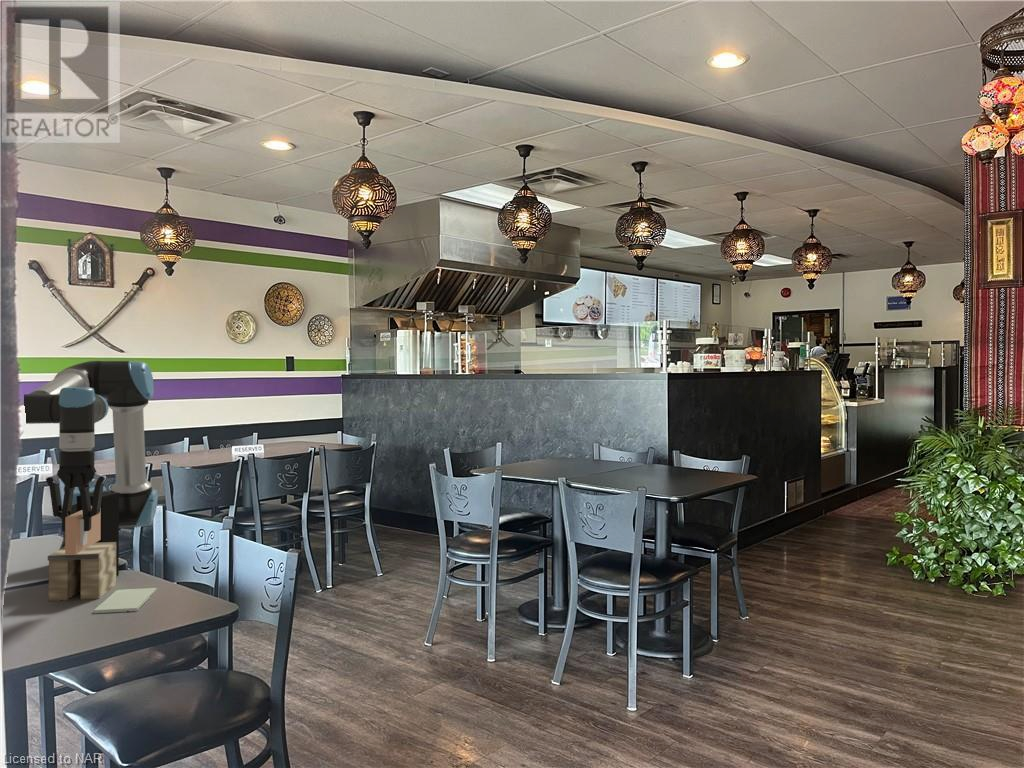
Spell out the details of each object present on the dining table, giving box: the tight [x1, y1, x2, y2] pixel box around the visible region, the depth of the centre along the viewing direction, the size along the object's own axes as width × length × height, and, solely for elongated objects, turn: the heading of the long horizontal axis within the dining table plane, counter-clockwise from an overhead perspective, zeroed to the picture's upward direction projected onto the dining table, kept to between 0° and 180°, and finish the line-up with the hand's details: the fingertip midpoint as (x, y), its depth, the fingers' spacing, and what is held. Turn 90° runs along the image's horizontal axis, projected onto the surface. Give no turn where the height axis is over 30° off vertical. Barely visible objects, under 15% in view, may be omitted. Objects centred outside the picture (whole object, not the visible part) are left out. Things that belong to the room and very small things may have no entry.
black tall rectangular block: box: [77, 482, 120, 577], centre depth 212 cm, size 8×8×28 cm
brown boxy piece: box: [47, 542, 117, 602], centre depth 198 cm, size 15×12×12 cm
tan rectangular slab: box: [65, 506, 101, 555], centre depth 185 cm, size 16×2×9 cm, turn 11°
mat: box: [93, 587, 158, 614], centre depth 191 cm, size 18×10×1 cm, turn 12°
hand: (76, 544), depth 180 cm, fingers closed on tan rectangular slab, 2 cm apart
